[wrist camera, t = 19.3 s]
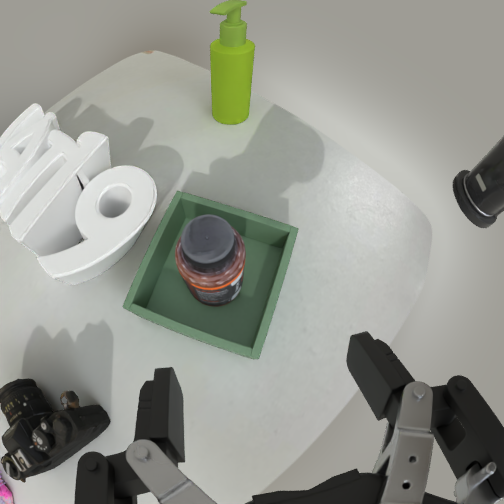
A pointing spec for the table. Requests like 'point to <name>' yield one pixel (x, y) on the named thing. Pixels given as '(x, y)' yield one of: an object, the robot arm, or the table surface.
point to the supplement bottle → (211, 260)
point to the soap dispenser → (231, 66)
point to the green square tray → (187, 306)
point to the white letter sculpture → (70, 197)
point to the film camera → (44, 429)
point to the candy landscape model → (5, 494)
